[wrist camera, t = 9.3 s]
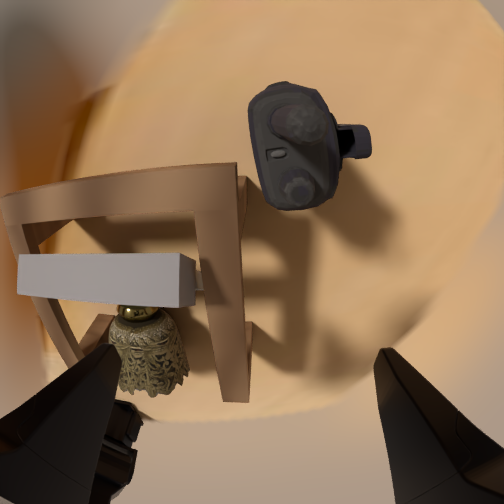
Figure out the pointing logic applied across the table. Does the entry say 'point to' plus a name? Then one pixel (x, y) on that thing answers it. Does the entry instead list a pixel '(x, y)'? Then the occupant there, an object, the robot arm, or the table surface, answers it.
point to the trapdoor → (111, 278)
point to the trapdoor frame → (151, 201)
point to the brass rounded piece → (148, 350)
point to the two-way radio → (300, 146)
